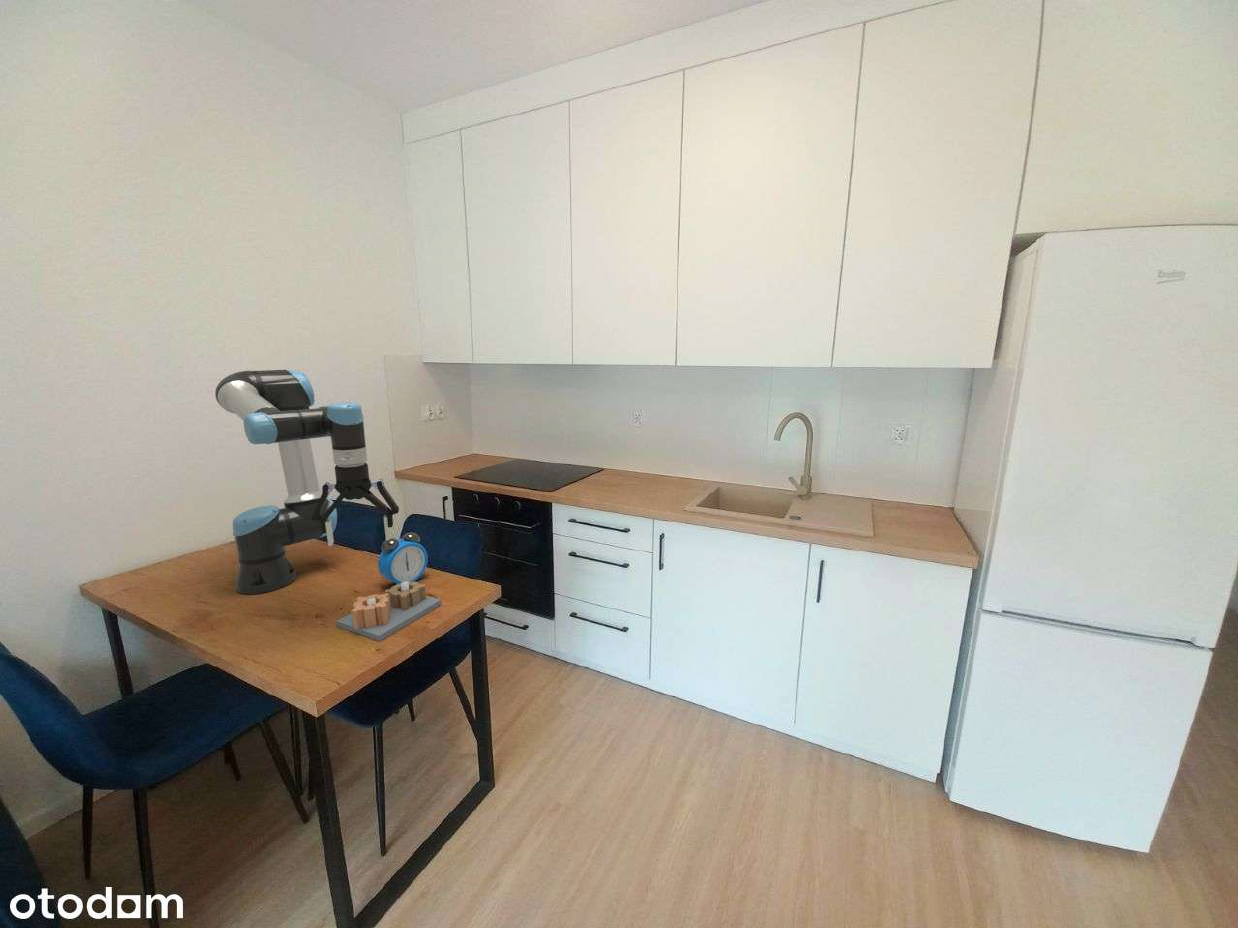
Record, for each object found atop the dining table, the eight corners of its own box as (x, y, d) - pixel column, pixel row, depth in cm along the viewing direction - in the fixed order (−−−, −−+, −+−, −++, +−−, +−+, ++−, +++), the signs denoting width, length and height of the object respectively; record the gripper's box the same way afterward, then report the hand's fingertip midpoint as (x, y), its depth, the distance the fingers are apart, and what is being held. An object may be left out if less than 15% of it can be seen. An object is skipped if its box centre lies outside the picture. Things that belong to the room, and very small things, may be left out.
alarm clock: (390, 592, 145) (385, 544, 141) (379, 586, 148) (374, 540, 145) (430, 576, 155) (425, 531, 152) (419, 571, 159) (414, 527, 155)
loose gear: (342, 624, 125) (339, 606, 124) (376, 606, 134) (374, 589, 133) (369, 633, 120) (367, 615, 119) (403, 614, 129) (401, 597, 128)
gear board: (337, 626, 127) (333, 601, 125) (400, 593, 144) (398, 571, 143) (379, 641, 120) (376, 615, 118) (441, 604, 137) (439, 581, 136)
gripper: (290, 470, 118) (302, 552, 123) (402, 464, 126) (409, 541, 131) (299, 463, 125) (310, 540, 130) (405, 457, 133) (411, 531, 138)
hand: (360, 541), depth 130 cm, fingers open, 13 cm apart
